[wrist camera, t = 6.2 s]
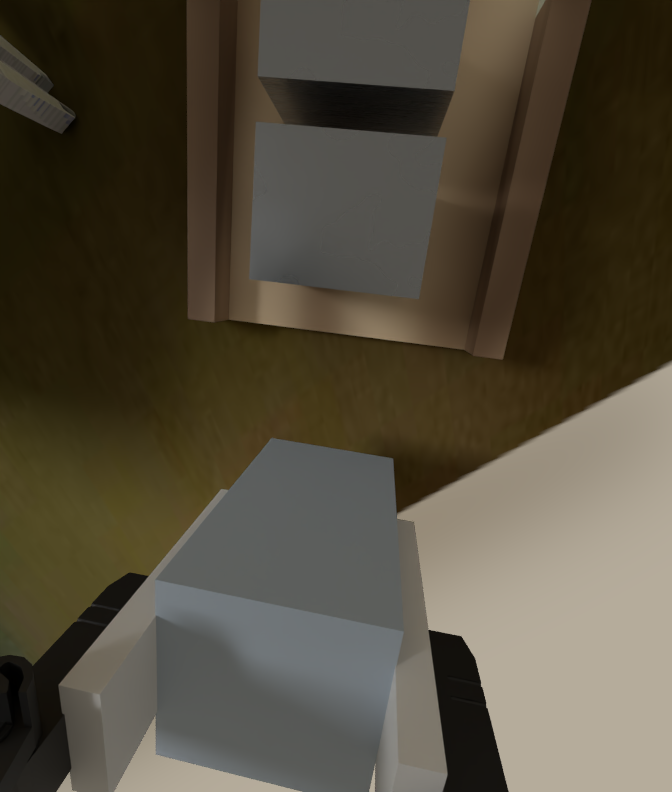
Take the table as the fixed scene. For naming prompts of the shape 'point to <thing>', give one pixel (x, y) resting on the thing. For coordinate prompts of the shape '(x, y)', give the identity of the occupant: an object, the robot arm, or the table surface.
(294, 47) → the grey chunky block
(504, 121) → the slot board
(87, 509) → the table surface
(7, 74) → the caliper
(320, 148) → the grey squarish block
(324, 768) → the grey block
